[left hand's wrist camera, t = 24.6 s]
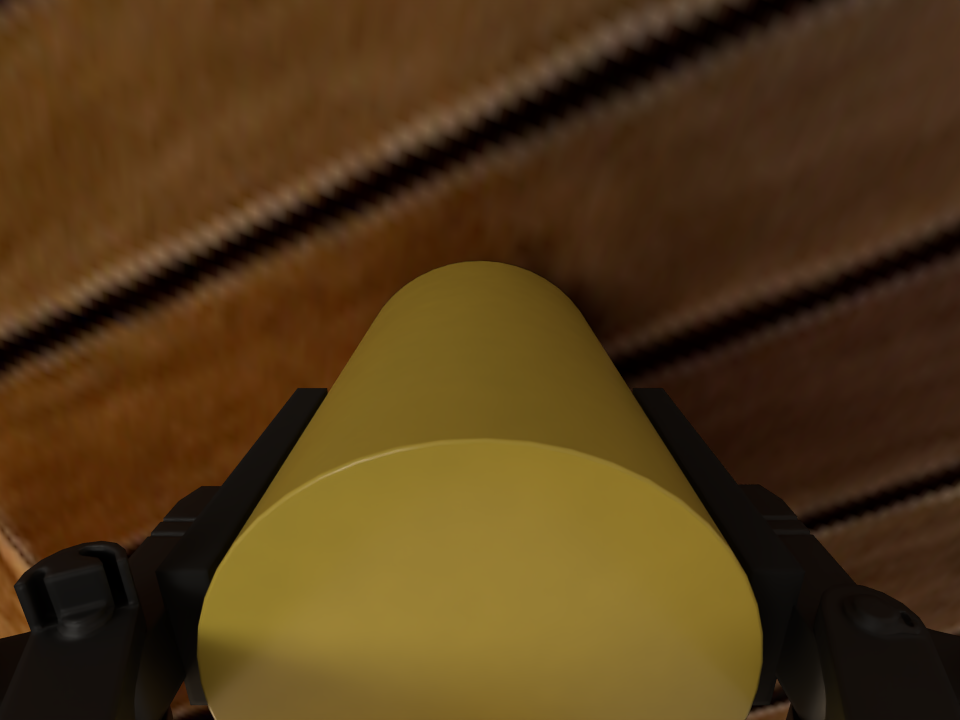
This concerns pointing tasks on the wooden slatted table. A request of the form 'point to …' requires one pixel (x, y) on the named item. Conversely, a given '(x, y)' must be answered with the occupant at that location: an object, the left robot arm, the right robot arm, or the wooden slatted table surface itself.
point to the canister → (480, 537)
